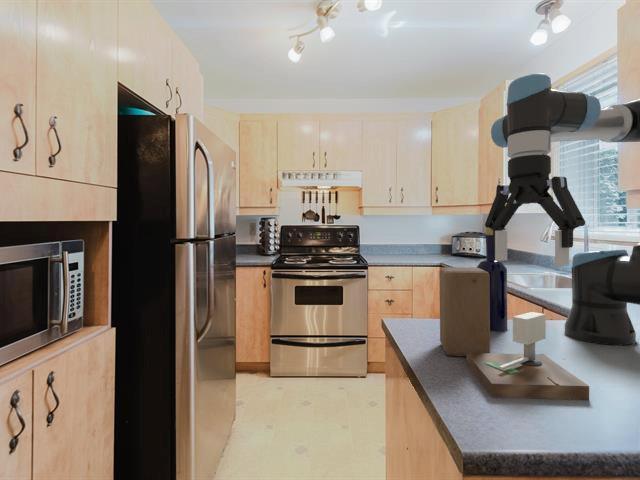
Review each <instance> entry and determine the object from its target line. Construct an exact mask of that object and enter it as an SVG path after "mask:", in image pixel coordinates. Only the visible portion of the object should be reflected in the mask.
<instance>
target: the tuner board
mask: <svg viewBox="0 0 640 480" xmlns="http://www.w3.org/2000/svg"><path fill="white" fill-rule="evenodd" d="M523 357H524V353H491V352H490V353H466V365H467V366H468V368H469V369H470V371H471V372H472V373H473V374H474V376H475V377H476V378H477V380H478V381H479V382H480V383H481V385H483V387H484V389H485V390H486V391H487V392H488V393H489V394H490V397H492V398H511V399H512V398H515V399H545V400H546V399H547V400H549V399H550V400H551V399H552V400H577V401H578V400H581V401H582V400H583V401H589V400H590V386H589V384H587V383H585V382H584V381H583V380H581V379H580V378H579V377H577V376H576V375H574V374H572V373H571V372H570V371H568V370H567V369H565V368H564V367H562V366H561V365H560V364H558V363H557V362H555V361H554V360H552V358H550V357H548V356H547V355H545V354H543V353H535V360H534V361H530V360H528V361H525V362H522V363H520V364H517V365H515V366H512V367H509V368H507V369H504V370H501V369H499V366H501V365H504V364H507V363H509V362H512V361H515V360H518V359H520V358H523Z"/></svg>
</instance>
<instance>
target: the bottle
mask: <svg viewBox="0 0 640 480" xmlns="http://www.w3.org/2000/svg"><path fill="white" fill-rule="evenodd" d="M484 238H485V245H486V248H485V249H486V250H485V251H486V259H484V260H481V261H480V262H479V263H478V265H477V266H476V267H477V268H480V269H482V270H484V271H486V272H488V273H489V275H490V332H498V333H500V332H505V330H507V329H508V269H507V267H506V266H505V264H504V263H503V262H502V260H501V261H496V260H495V245H494V244H493V230H492V229H491V228H487V227H485V235H484ZM507 331H508V330H507Z"/></svg>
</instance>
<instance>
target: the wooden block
mask: <svg viewBox="0 0 640 480" xmlns="http://www.w3.org/2000/svg"><path fill="white" fill-rule="evenodd" d="M438 277H439V341H440V344H441V346H442V348H443V350H444V353H445V355H446V356H450V357H466V353H491V331H490V275H489V273H488V272H486V271H484V270H482V269H480V268H477V266H472V267H471V266H469V267H467V266H466V267H459V266H457V267H455V266H454V267H449V266H448V267H445V266H444V267H441V268H440V269H439V276H438ZM466 358H467V357H466Z"/></svg>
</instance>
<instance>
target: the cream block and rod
mask: <svg viewBox="0 0 640 480" xmlns="http://www.w3.org/2000/svg"><path fill="white" fill-rule="evenodd" d="M546 321H547V319H546V314H545V313H540V312H536V311H535V312H534V311H529V312H527V313H521V314H517V315H514V316H512V342H515V343H518V344H523V354H524V357H523V358H520V359H518V360H515V361H512V362H509V363H507V364H504V365H501V366H499V369H501V370H504V369H507V368H509V367H512V366H515V365H517V364H520V363H522V362H525V361H528V360H530V361H534V360H535V354H536V343H537V342H539V341H540V342H541V341H542V340H544V339H546V325H547V323H546Z"/></svg>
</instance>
